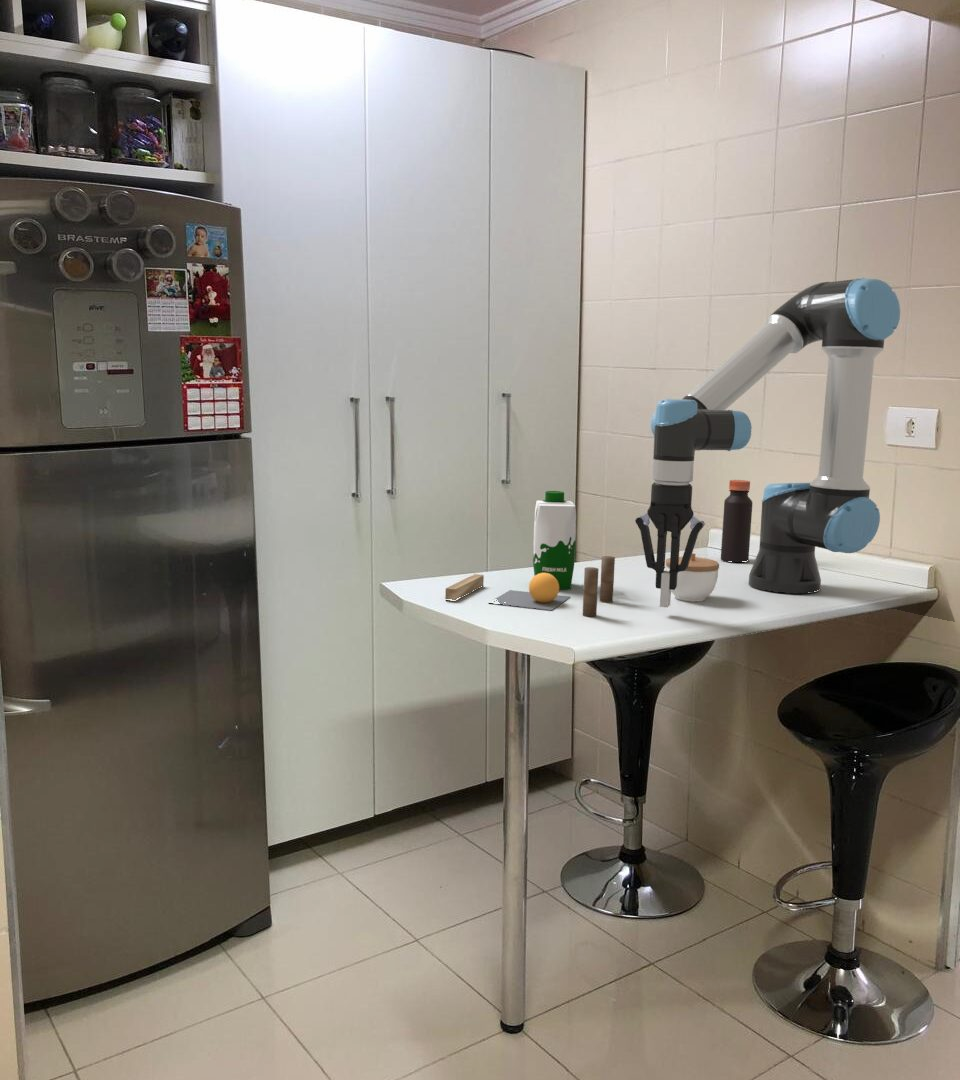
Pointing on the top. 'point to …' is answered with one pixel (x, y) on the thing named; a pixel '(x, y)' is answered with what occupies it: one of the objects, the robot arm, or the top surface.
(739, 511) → the bottle
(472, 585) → the rail
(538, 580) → the ball
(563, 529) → the milk carton
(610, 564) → the post
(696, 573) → the lidded jar
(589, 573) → the post
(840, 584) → the top surface
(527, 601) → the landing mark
